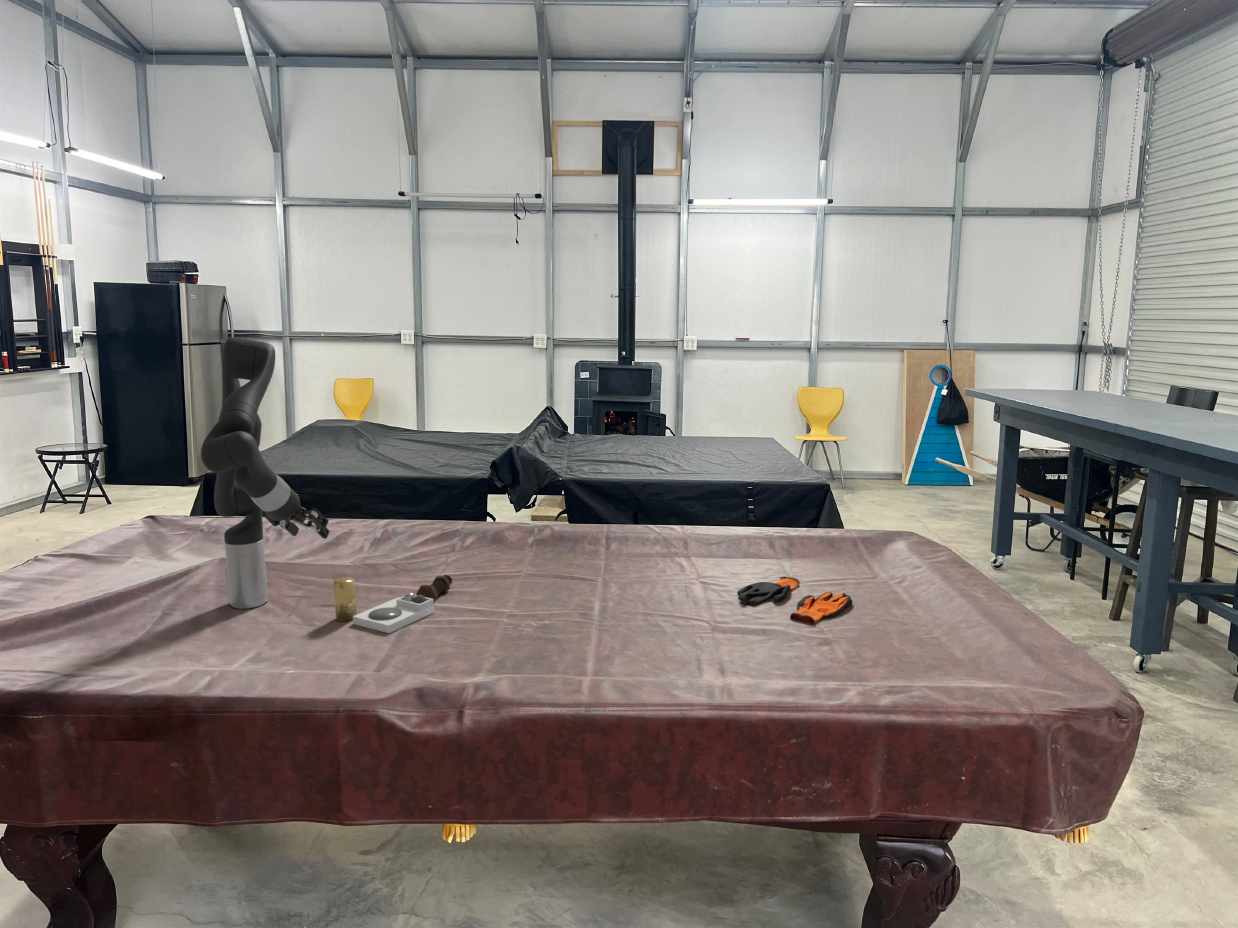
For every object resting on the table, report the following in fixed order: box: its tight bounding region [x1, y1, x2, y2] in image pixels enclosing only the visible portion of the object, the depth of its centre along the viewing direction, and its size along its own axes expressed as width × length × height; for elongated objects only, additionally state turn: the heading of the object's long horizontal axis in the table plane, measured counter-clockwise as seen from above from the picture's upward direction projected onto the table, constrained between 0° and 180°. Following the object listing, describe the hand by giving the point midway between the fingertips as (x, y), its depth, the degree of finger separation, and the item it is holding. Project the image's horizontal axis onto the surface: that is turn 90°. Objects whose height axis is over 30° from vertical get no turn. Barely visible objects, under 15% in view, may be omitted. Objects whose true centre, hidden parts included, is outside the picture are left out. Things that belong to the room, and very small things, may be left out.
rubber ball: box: [414, 595, 426, 604], centre depth 212 cm, size 3×3×3 cm
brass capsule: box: [333, 576, 358, 623], centre depth 209 cm, size 5×5×10 cm
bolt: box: [415, 574, 453, 603], centre depth 227 cm, size 6×5×15 cm
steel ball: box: [404, 592, 416, 602], centre depth 214 cm, size 3×3×3 cm
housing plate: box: [352, 594, 435, 634], centre depth 210 cm, size 12×16×4 cm
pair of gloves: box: [737, 576, 853, 625], centre depth 223 cm, size 27×24×3 cm
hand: (311, 533), depth 195 cm, fingers open, 8 cm apart
